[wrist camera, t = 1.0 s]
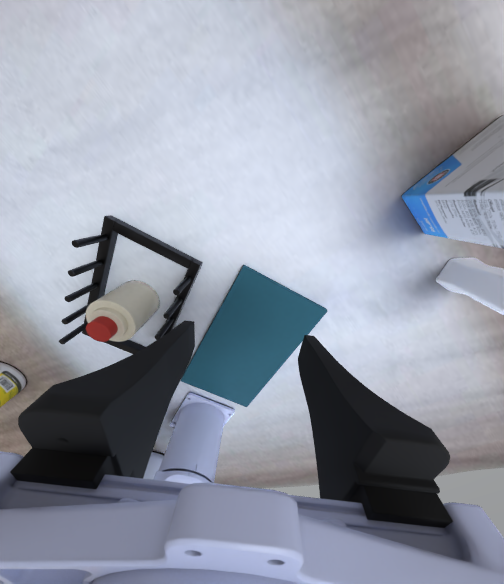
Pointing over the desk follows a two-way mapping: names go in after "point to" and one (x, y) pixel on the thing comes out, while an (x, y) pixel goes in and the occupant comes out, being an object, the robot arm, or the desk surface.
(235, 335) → the mat
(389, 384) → the desk surface
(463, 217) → the ink box
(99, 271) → the drying rack
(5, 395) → the pill bottle
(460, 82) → the desk surface
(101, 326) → the cream bottle
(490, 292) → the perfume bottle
